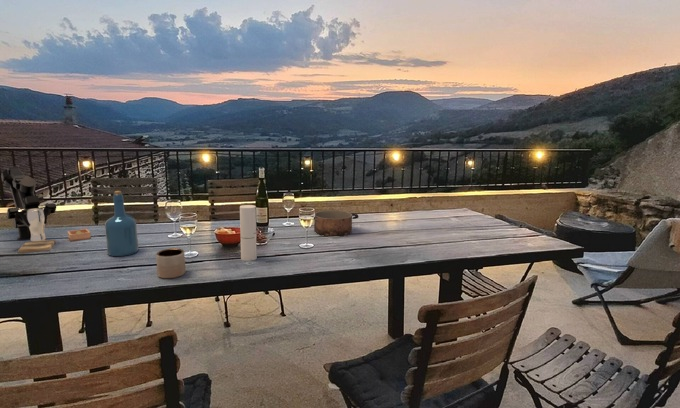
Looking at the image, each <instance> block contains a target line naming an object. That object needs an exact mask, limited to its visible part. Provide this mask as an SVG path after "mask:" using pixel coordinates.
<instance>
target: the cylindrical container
mask: <svg viewBox="0 0 680 408" xmlns="http://www.w3.org/2000/svg"><path fill="white" fill-rule="evenodd" d="M256 208H257V206H256V205H254V204H244V205H242V204H241V205H240V206H239V225H240V231H239V232H240V259H241V261H245V262H251V261H256V260H257V256H258V253H257V211H256Z"/></svg>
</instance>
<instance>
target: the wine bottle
mask: <svg viewBox="0 0 680 408" xmlns="http://www.w3.org/2000/svg"><path fill="white" fill-rule="evenodd" d="M112 198H113V200H112V202H113V206H114V207H113V209H114V210H113V211H114V215H113V216H111V217H109V218H108V219H107V220H105V224H104V229H105V239H106V240H105V241H106V250H107V254H108V255H109V256H112V257H125V256H131V255H134V254H135V253H136V254H137V252H138V251H139V241H138V238H139V237H138V229H137V228H138V227H137V222H136V220H135V217H134V216H132V215H130V214H128V213H126V210H125V202H124V201H125V200H124V196H123V193H122V191H121V190H115V191H114V194H113V197H112Z"/></svg>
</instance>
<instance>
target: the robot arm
mask: <svg viewBox="0 0 680 408" xmlns="http://www.w3.org/2000/svg"><path fill="white" fill-rule="evenodd" d="M0 174H1V175H0V177H1V182H3V184H4V186H5V187H7V188H8V189H10V193H11V195H12V200H13V203H14V207H9V208H7V210H6V216H7V219H8V220H11V219H12V220H13V221H12V222H13V223H12V224H13V228H15V229H18V235H19V236H18V237H17V240H26V239H27V240H28V239H30V240H31V232H30V229H29V224H28V222H27V219H26V210H27V209H32V208H43V211H44V216H45V225H47V224H48V223H47V221H48V216H50V215H52V214H55V213H56V211H57V205H56V203H54V202H52V203H50V202H49V203H45V205H44V206H40V205H41V204H40V202H43V201H44V195H43V193H39V194H37V195H36V194H35V190H36V185H37V181H36V180H35V179H34V178H33V177H30V176H29V175H24V173H23V171H22V170H21V168H20V166H9V167H7V168H6V169H5V170H4V171H2V172H1V173H0Z"/></svg>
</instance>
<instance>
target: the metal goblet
mask: <svg viewBox="0 0 680 408" xmlns="http://www.w3.org/2000/svg"><path fill="white" fill-rule="evenodd" d="M26 219H27V222H28V224H29V229H30V232H31V238H30V242H32V241H43V240H47V237H46V234H45V226H46V224H45V216H44V211H43V208H32V209H27V210H26Z"/></svg>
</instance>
